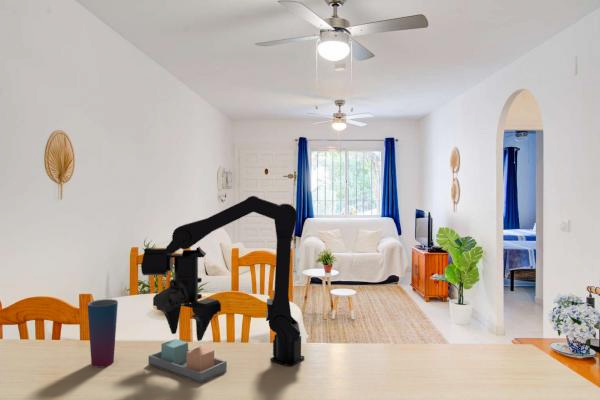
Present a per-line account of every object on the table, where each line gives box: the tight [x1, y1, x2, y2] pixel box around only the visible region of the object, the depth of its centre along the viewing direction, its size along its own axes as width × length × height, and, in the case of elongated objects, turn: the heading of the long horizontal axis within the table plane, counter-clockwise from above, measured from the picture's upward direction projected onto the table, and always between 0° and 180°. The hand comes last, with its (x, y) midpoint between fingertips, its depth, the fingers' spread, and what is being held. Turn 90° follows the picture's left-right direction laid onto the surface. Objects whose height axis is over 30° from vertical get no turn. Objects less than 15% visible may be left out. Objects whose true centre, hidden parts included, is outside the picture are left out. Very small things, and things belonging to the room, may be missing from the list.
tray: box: [148, 349, 228, 384], centre depth 106 cm, size 18×8×2 cm, turn 56°
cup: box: [87, 298, 119, 368], centre depth 108 cm, size 7×7×15 cm
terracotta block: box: [187, 346, 215, 372], centre depth 104 cm, size 4×4×4 cm
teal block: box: [160, 338, 189, 364], centre depth 109 cm, size 4×4×4 cm
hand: (186, 337), depth 110 cm, fingers open, 9 cm apart
